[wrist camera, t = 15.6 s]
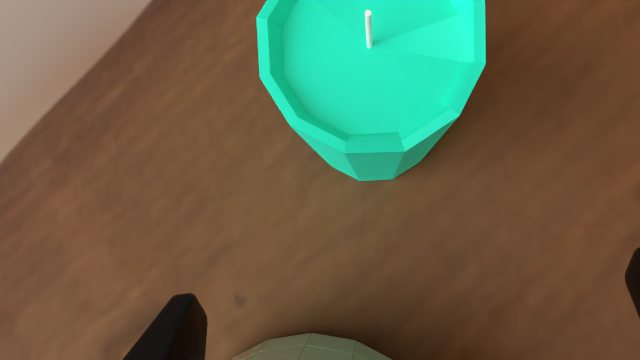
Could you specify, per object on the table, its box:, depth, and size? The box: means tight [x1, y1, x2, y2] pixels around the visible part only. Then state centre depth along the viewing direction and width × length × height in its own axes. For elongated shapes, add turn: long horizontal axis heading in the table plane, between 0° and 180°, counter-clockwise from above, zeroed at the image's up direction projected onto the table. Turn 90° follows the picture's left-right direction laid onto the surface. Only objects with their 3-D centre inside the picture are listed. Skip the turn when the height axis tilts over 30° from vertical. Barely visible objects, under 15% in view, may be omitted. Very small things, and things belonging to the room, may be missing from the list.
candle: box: [256, 0, 486, 181], centre depth 16 cm, size 6×6×12 cm
